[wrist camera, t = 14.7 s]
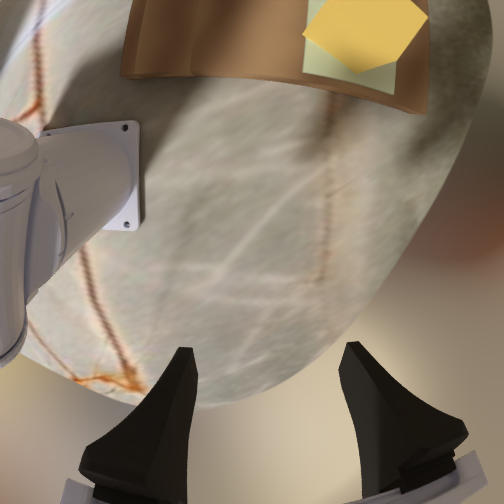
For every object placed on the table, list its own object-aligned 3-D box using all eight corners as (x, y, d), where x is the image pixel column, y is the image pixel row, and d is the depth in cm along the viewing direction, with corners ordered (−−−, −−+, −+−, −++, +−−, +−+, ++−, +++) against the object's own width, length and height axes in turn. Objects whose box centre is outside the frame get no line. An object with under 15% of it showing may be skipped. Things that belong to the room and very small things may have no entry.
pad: (302, 72, 13) (303, 71, 13) (308, -7, 11) (309, -8, 11) (391, 94, 14) (393, 94, 14) (394, 19, 11) (396, 18, 11)
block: (301, 34, 12) (324, 3, 8) (335, -3, 11) (364, -36, 6) (356, 74, 13) (396, 60, 9) (385, 36, 12) (428, 17, 7)
